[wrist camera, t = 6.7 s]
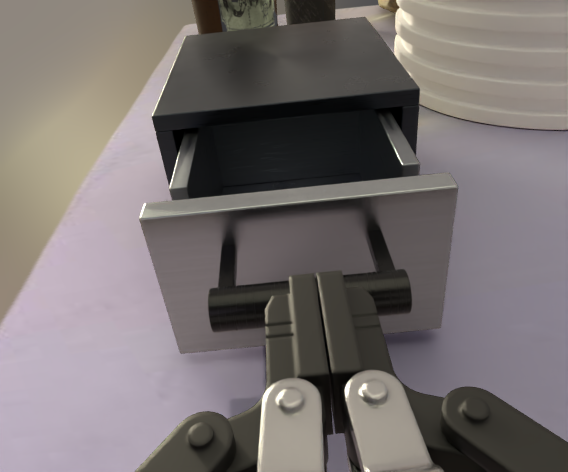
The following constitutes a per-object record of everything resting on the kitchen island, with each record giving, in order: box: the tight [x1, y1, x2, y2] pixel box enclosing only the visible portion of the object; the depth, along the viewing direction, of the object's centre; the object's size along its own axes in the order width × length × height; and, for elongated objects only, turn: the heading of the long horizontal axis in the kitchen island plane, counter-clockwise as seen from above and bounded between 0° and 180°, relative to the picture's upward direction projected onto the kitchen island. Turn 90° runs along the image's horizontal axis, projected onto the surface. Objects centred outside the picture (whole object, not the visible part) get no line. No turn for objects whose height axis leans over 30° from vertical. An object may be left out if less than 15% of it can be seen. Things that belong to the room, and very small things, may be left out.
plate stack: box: [394, 0, 568, 130], centre depth 50 cm, size 28×28×12 cm
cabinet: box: [152, 17, 420, 187], centre depth 36 cm, size 16×14×10 cm
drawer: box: [139, 108, 458, 354], centre depth 27 cm, size 19×13×8 cm, turn 3°
